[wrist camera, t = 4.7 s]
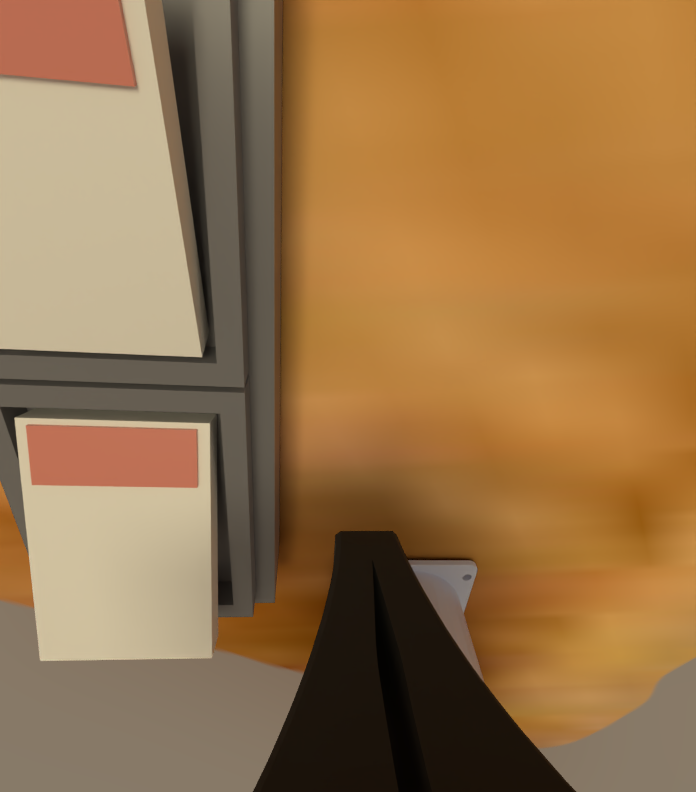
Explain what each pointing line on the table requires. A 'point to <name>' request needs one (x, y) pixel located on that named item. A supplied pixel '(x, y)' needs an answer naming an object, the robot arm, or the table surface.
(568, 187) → the table surface
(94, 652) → the rocker far
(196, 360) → the switch box
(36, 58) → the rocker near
